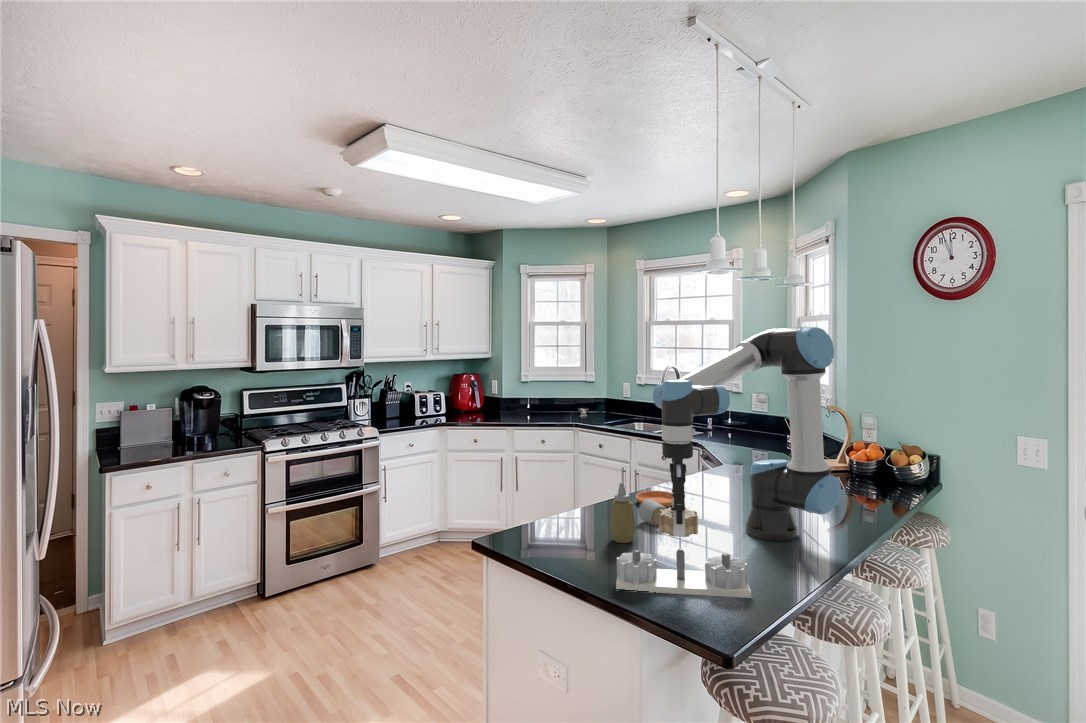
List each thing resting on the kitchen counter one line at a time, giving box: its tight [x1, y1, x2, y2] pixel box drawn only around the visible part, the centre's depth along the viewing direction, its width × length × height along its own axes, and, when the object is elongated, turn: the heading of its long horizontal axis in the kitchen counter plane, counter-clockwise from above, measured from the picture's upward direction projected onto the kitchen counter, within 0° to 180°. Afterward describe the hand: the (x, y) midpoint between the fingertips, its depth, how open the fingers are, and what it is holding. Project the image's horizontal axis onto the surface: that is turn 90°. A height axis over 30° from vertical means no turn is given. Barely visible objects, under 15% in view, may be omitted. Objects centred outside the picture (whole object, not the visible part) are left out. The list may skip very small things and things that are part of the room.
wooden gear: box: [659, 507, 699, 538], centre depth 141 cm, size 9×9×4 cm
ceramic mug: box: [638, 499, 667, 528], centre depth 189 cm, size 11×8×8 cm
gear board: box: [615, 548, 752, 599], centre depth 141 cm, size 32×11×9 cm, turn 79°
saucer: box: [635, 490, 674, 509], centre depth 213 cm, size 16×16×3 cm
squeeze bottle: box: [609, 482, 637, 544], centre depth 173 cm, size 8×8×18 cm
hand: (678, 529), depth 141 cm, fingers closed on wooden gear, 9 cm apart
